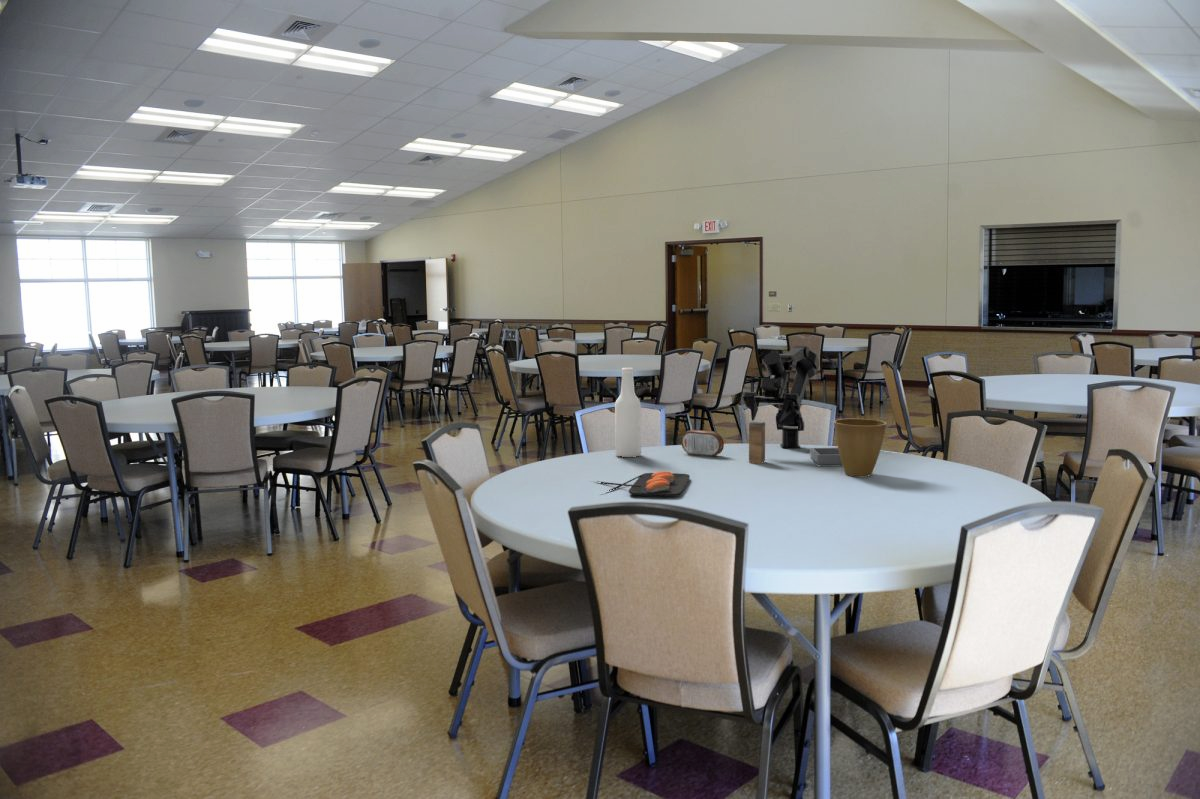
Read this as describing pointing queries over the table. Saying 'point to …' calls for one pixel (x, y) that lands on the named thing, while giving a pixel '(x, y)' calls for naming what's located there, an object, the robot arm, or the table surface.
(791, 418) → the robot arm
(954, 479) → the table surface
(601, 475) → the table surface
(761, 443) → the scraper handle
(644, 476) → the sushi plate
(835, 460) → the box
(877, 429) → the plant pot
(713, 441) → the tin
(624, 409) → the alcohol
